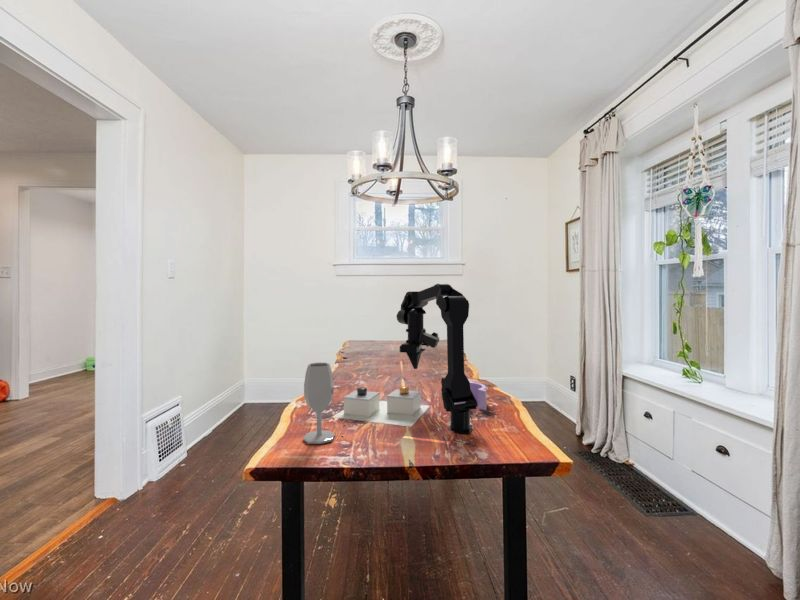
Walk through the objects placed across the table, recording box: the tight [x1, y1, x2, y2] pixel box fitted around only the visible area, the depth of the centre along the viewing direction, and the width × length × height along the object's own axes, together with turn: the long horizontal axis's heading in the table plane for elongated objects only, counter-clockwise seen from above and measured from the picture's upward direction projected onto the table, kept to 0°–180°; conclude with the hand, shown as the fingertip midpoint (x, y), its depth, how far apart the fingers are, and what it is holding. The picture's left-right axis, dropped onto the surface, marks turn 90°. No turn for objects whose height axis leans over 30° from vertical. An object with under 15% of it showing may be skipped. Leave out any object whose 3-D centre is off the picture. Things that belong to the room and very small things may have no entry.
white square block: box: [343, 389, 380, 417], centre depth 130 cm, size 10×9×6 cm
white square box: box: [386, 388, 422, 416], centre depth 131 cm, size 10×9×6 cm
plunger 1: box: [356, 386, 368, 396], centre depth 129 cm, size 7×7×7 cm
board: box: [332, 400, 430, 428], centre depth 130 cm, size 22×27×1 cm
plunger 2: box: [399, 385, 410, 394], centre depth 130 cm, size 7×7×7 cm
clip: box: [454, 378, 487, 411], centre depth 142 cm, size 20×12×7 cm, turn 11°
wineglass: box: [303, 362, 336, 445], centre depth 107 cm, size 9×9×21 cm
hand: (415, 368), depth 139 cm, fingers closed
